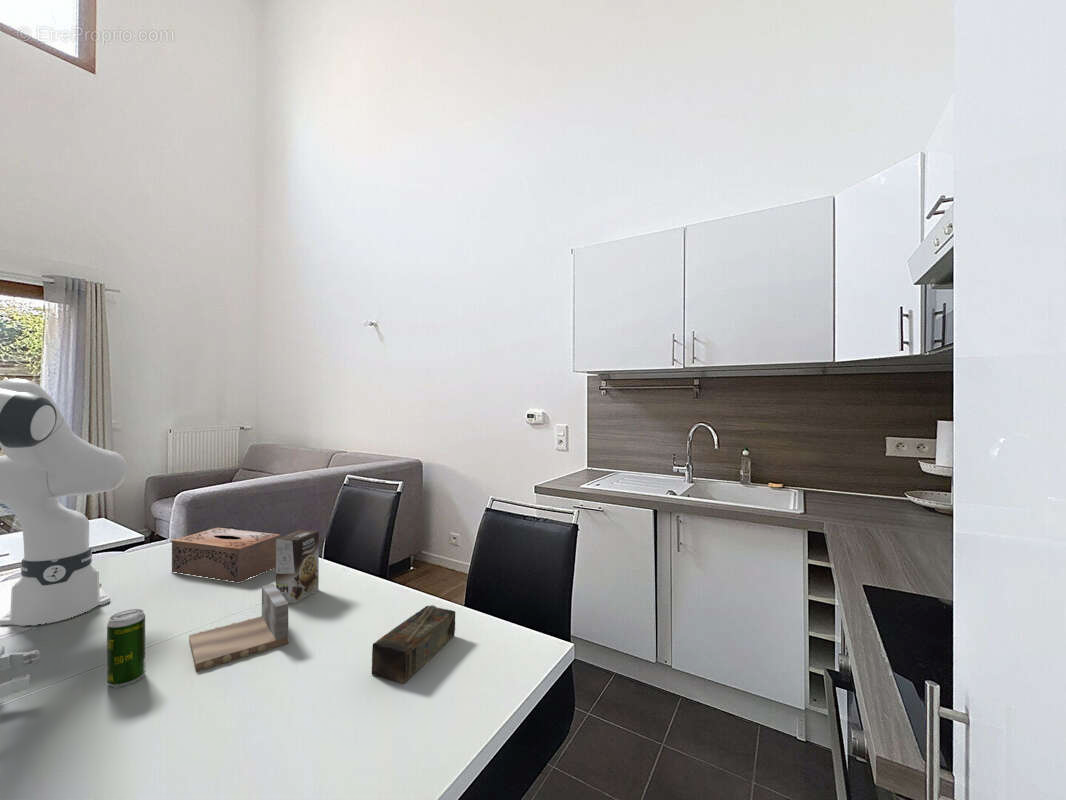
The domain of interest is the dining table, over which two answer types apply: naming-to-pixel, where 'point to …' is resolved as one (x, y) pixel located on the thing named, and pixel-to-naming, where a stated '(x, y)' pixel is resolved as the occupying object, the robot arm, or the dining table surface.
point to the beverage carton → (412, 643)
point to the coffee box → (297, 565)
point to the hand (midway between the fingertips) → (34, 667)
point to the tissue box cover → (225, 554)
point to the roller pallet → (243, 634)
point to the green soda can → (125, 647)
